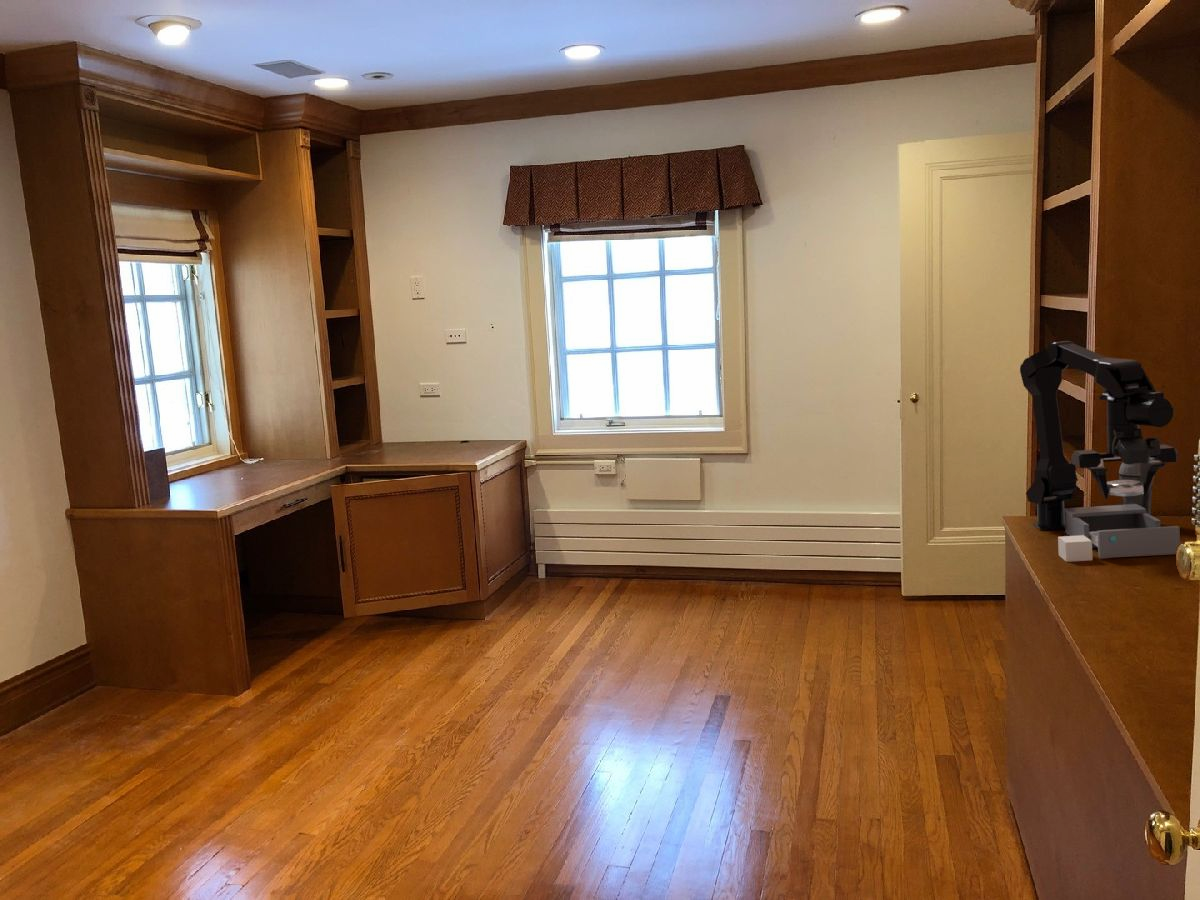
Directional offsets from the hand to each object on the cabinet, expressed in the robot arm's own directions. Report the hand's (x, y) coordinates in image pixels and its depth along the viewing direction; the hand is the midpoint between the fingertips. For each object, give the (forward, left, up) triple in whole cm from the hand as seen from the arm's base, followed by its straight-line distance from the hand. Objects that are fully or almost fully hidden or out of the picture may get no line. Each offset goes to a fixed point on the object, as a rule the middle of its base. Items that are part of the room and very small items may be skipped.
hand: (1124, 497), depth 203 cm
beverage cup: (-20, +10, -11) cm, 25 cm away
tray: (+1, 0, -11) cm, 11 cm away
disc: (0, 0, +1) cm, 1 cm away
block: (+5, -11, -11) cm, 17 cm away
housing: (-8, 0, -11) cm, 14 cm away
